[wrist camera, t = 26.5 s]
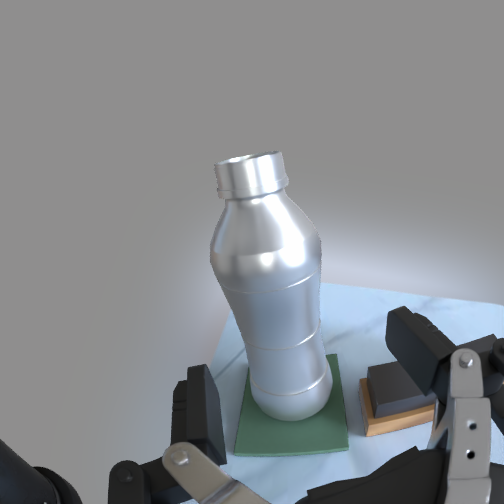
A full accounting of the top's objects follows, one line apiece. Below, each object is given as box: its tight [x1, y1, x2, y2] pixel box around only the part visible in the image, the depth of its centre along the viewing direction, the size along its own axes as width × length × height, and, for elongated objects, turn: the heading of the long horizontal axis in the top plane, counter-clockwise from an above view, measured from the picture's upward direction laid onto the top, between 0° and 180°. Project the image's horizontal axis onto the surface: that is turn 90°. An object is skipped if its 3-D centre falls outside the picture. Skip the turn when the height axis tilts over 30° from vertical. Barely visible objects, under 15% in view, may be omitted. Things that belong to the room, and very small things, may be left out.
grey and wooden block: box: [358, 334, 504, 437], centre depth 18 cm, size 14×5×4 cm, turn 84°
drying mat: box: [234, 354, 349, 456], centre depth 23 cm, size 9×11×1 cm
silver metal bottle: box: [210, 151, 333, 421], centre depth 19 cm, size 6×7×20 cm
